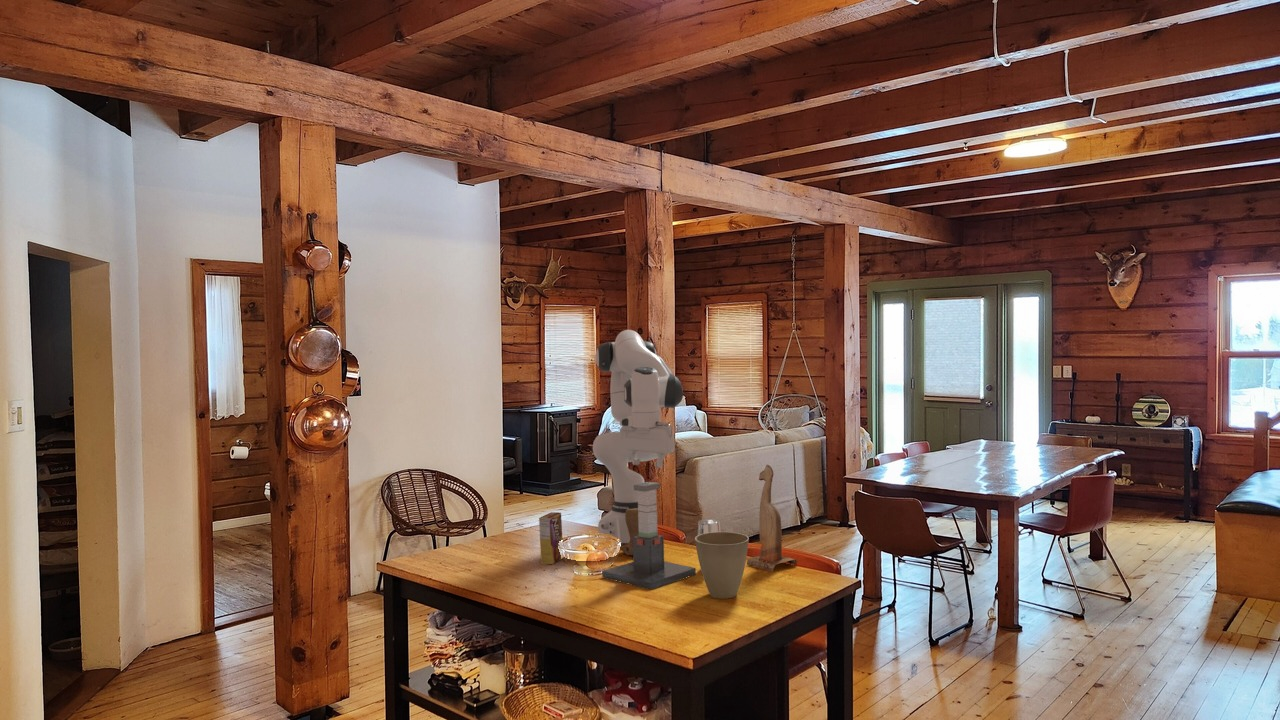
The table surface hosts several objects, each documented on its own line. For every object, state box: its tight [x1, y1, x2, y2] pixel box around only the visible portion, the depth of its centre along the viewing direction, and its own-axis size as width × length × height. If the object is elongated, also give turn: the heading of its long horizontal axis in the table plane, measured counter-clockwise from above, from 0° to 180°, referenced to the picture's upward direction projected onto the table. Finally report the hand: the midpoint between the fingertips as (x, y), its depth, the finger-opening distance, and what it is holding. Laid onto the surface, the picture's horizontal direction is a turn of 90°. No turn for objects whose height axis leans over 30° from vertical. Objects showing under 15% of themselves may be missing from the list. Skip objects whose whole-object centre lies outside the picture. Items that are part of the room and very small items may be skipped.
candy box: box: [538, 511, 563, 565], centre depth 269 cm, size 9×4×15 cm, turn 160°
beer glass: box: [697, 518, 722, 571], centre depth 254 cm, size 7×7×15 cm
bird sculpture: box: [746, 464, 798, 573], centre depth 257 cm, size 11×12×32 cm
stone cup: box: [620, 508, 639, 556], centre depth 279 cm, size 15×12×15 cm
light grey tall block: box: [634, 481, 661, 539], centre depth 248 cm, size 4×7×19 cm, turn 136°
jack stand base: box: [601, 534, 697, 591], centre depth 248 cm, size 20×20×12 cm
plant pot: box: [694, 531, 750, 600], centre depth 227 cm, size 15×15×16 cm
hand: (647, 466), depth 250 cm, fingers open, 8 cm apart
